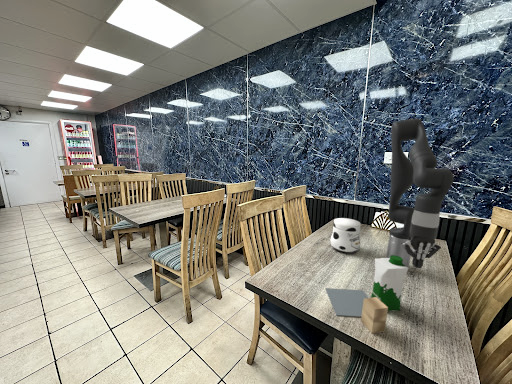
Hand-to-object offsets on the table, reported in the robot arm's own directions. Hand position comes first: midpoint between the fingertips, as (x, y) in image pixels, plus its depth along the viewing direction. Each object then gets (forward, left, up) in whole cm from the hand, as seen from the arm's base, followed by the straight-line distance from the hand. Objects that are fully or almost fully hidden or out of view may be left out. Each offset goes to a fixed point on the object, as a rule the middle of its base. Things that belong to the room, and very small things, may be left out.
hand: (416, 267), depth 75 cm
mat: (+23, 0, -17) cm, 28 cm away
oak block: (+20, +11, -17) cm, 28 cm away
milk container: (+8, -49, -17) cm, 52 cm away
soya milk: (+10, 0, -17) cm, 20 cm away
